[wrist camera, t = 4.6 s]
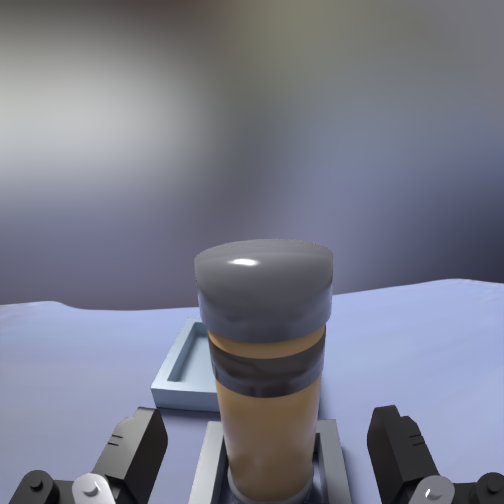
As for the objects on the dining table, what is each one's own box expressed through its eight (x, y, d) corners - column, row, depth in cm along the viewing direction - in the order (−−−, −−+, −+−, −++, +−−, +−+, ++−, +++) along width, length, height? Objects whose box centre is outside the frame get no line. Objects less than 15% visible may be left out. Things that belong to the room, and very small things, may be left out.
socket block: (191, 538, 11) (183, 525, 10) (212, 440, 18) (208, 421, 18) (347, 538, 10) (355, 524, 10) (332, 438, 18) (335, 419, 17)
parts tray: (156, 406, 22) (150, 387, 21) (190, 333, 33) (187, 317, 33) (313, 410, 21) (315, 391, 20) (301, 332, 32) (302, 316, 32)
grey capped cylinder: (227, 518, 12) (177, 279, 8) (235, 460, 17) (209, 241, 13) (313, 517, 12) (347, 274, 8) (308, 459, 16) (321, 237, 13)
